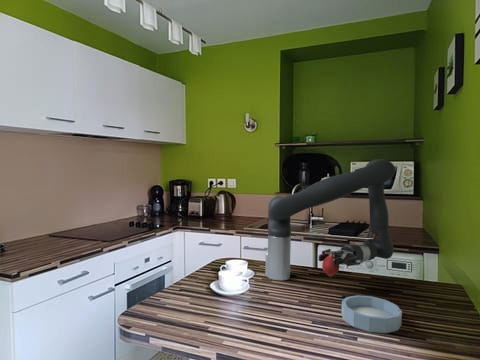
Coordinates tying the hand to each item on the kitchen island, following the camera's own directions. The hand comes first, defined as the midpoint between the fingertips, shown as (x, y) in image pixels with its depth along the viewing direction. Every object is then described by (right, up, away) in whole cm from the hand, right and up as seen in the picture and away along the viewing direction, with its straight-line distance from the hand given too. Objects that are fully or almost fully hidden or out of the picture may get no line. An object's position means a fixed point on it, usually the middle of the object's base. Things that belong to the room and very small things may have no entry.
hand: (326, 260), depth 112 cm
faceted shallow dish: (+9, -14, -15) cm, 22 cm away
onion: (+2, -6, +2) cm, 7 cm away
